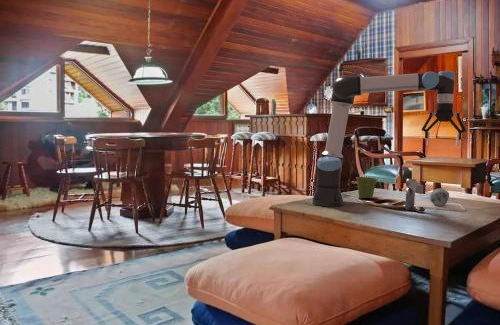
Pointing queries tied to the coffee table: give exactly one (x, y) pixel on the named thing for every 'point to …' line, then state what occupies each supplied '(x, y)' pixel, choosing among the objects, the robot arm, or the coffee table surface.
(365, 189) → the plant pot
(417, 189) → the bar
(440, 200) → the grey streaked egg shape
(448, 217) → the coffee table surface
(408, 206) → the latch post
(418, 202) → the board
